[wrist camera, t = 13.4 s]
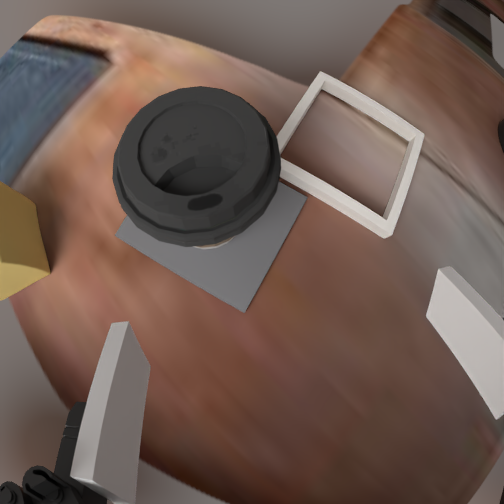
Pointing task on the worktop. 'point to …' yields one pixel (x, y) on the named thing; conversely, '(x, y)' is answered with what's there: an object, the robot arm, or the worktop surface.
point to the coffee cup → (196, 167)
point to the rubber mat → (226, 252)
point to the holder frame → (334, 196)
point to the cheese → (19, 243)
